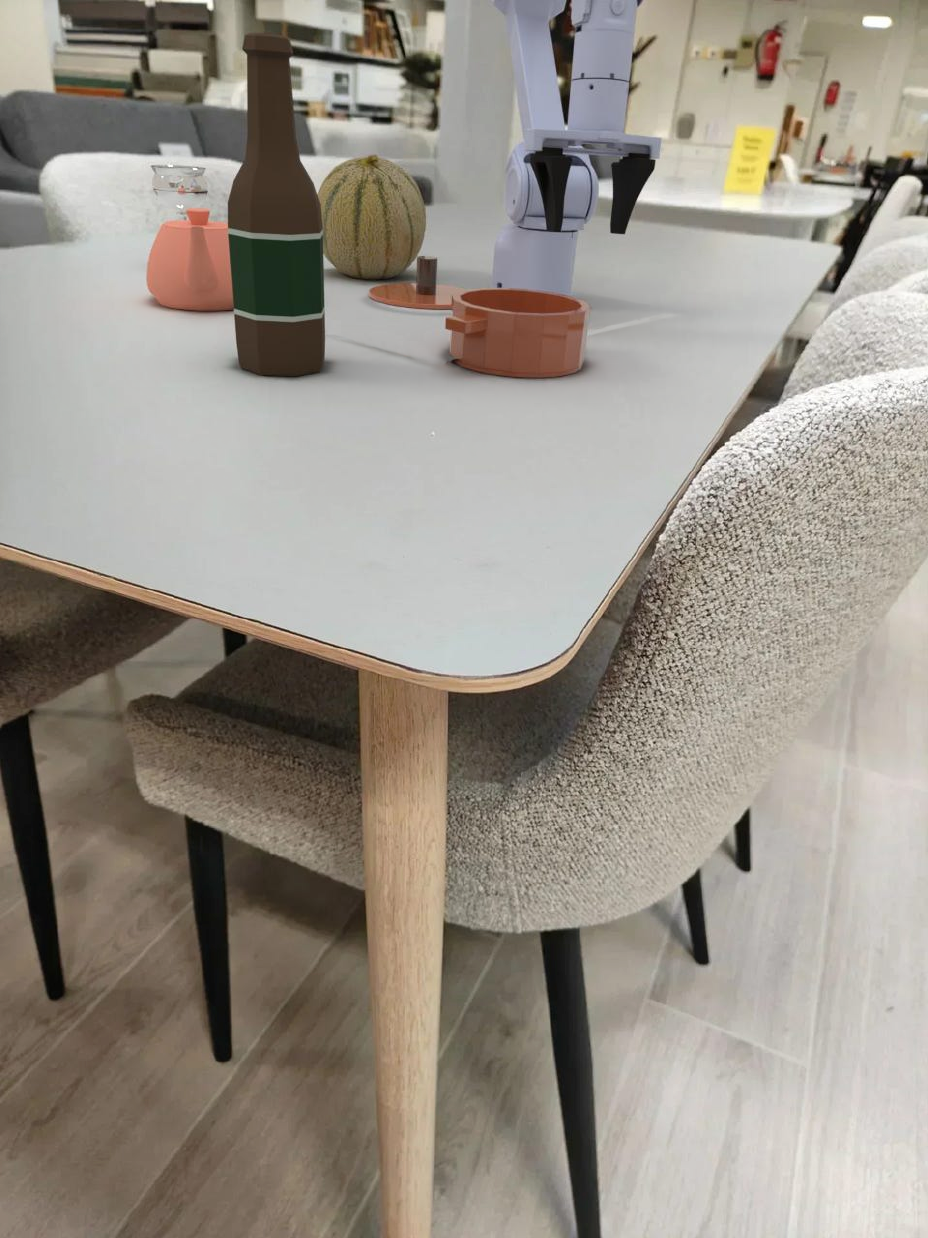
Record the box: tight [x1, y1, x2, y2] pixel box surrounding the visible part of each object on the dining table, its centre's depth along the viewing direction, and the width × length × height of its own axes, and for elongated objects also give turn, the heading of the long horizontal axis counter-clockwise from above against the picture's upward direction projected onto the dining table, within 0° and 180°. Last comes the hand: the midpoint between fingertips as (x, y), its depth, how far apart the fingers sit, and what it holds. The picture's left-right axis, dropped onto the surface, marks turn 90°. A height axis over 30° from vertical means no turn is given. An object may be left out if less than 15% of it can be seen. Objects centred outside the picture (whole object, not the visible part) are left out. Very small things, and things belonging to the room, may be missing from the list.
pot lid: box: [368, 255, 469, 310], centre depth 102 cm, size 14×14×5 cm
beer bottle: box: [227, 32, 326, 377], centre depth 69 cm, size 8×8×24 cm
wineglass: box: [150, 164, 209, 220], centre depth 111 cm, size 7×7×12 cm
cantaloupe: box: [317, 153, 427, 281], centre depth 111 cm, size 15×15×15 cm
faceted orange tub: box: [444, 287, 591, 379], centre depth 80 cm, size 13×18×5 cm
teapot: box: [146, 207, 234, 312], centre depth 93 cm, size 12×18×10 cm
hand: (586, 232), depth 91 cm, fingers open, 7 cm apart
